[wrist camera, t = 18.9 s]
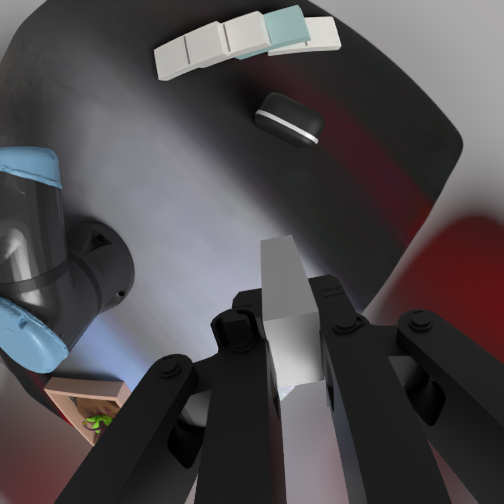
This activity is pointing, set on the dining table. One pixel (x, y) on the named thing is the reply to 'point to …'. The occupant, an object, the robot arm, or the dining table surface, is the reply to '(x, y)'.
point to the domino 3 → (283, 29)
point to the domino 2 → (245, 35)
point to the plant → (97, 413)
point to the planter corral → (86, 389)
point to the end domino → (314, 37)
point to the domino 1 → (191, 51)
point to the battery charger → (289, 120)
